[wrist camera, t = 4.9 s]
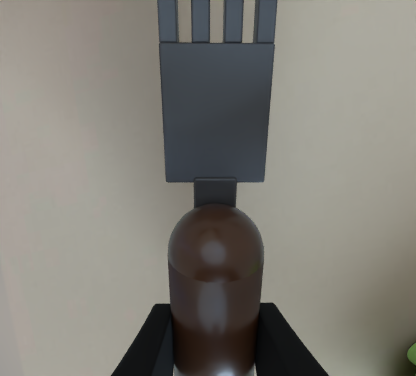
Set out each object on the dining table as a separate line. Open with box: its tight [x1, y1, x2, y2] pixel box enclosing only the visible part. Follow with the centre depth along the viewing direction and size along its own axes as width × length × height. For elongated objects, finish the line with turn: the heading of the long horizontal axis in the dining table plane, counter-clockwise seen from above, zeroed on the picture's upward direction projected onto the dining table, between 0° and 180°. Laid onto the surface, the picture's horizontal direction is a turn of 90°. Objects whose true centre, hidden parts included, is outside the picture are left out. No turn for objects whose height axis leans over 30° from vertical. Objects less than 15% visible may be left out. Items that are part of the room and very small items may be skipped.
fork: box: [157, 0, 277, 376], centre depth 7 cm, size 20×3×3 cm, turn 0°
